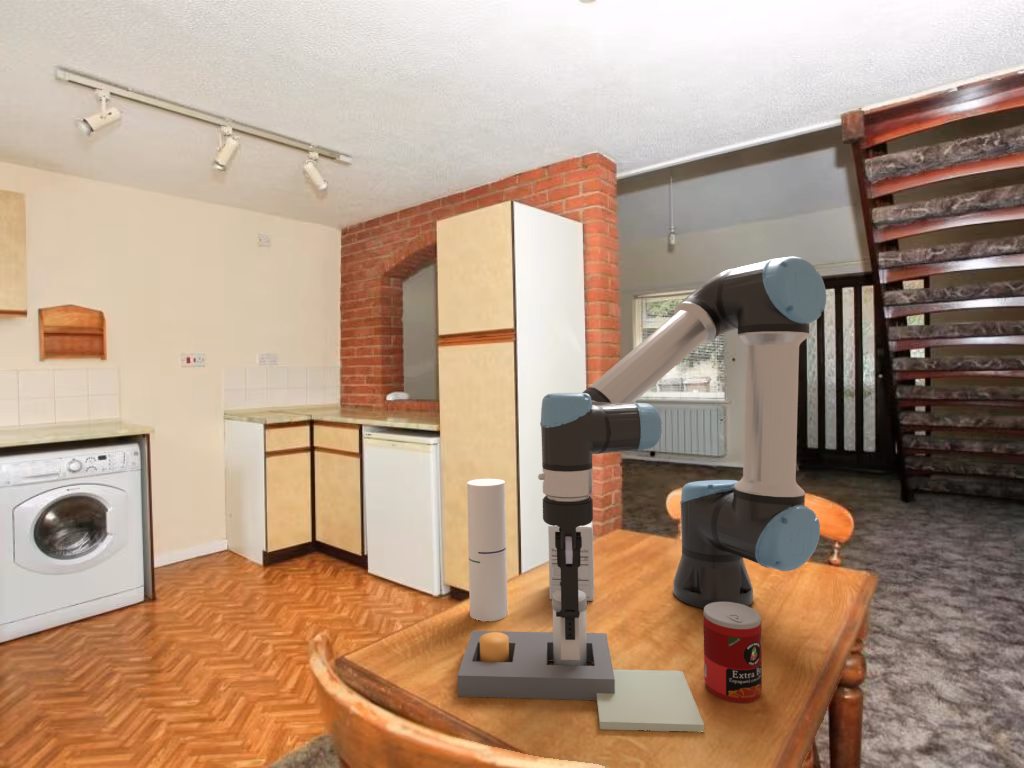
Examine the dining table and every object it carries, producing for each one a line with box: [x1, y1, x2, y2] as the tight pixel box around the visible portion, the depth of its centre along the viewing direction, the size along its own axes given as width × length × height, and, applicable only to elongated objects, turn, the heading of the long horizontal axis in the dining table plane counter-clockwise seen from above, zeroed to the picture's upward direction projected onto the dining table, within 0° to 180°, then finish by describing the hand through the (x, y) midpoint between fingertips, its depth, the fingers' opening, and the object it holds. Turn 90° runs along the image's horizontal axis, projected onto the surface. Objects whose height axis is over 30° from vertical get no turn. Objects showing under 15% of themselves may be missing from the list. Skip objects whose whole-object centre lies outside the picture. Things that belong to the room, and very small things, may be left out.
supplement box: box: [547, 520, 595, 602], centre depth 119 cm, size 9×9×15 cm
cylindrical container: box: [466, 478, 508, 622], centre depth 109 cm, size 7×7×25 cm
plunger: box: [479, 632, 509, 662], centre depth 88 cm, size 4×4×4 cm
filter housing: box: [456, 630, 615, 701], centre depth 88 cm, size 22×14×3 cm, turn 85°
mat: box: [596, 668, 705, 733], centre depth 80 cm, size 13×13×1 cm
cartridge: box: [551, 589, 588, 666], centre depth 87 cm, size 5×5×12 cm
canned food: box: [702, 602, 763, 704], centre depth 82 cm, size 8×8×11 cm
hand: (569, 648), depth 87 cm, fingers closed on cartridge, 5 cm apart
